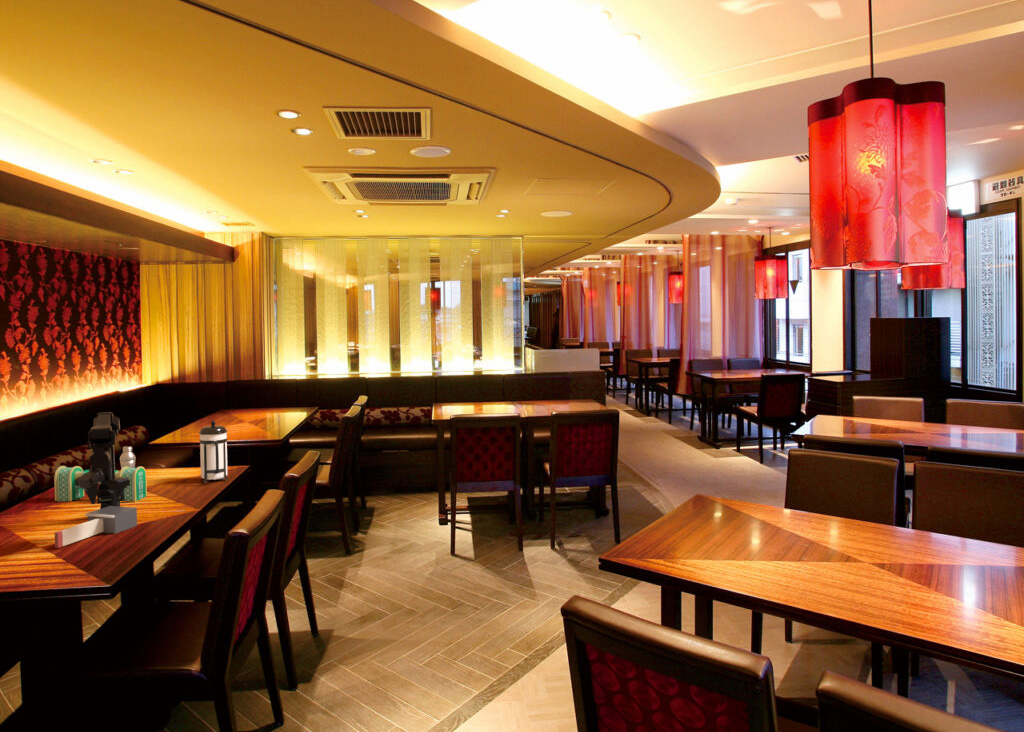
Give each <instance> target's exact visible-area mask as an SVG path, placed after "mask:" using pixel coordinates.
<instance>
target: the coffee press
mask: <svg viewBox="0 0 1024 732" xmlns="http://www.w3.org/2000/svg"><path fill="white" fill-rule="evenodd" d="M227 434H228V430H227V428H226V427H225V426H223V425H216V421H215V420H212V421H210V425H206V426H203V427H202V428H200V429H199V431H198V435H199V445H200V446H199V449H200V452H199V454H200V456H199V457H200V479H201V478H203V479H204V480H202V483H203V484H206V483H205V482H207V483H208V482H209V481H211V480H214V481H215V480H223V481H224V480H225V479H226V480H228V481H229V478H228V477H227V476H228V448H227V447H228V445H227V444H228V443H227V442H228V437H227Z"/></svg>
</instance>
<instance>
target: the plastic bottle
mask: <svg viewBox="0 0 1024 732" xmlns="http://www.w3.org/2000/svg"><path fill="white" fill-rule="evenodd" d="M119 463H120V467H121V469H122V468H123V467H126V466H128V467H130V468H136V455H135V454H134V452H133V447H132V446H131V445H127V446H123V447H122V453H121V455H120V457H119ZM121 469H120V470H121Z"/></svg>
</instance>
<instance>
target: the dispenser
mask: <svg viewBox="0 0 1024 732" xmlns="http://www.w3.org/2000/svg"><path fill="white" fill-rule="evenodd" d="M137 511H138V510H137V507H131V506H120V507H119V506H108V507H105V508H102V509H96V510H93V511H90V512H87V513H85V515H84V516H86V517H87V522H88V521H91V520H94V519H97V518H100V517H104V532H103V533H104V534H111V533H113V535H116V534H118V533H119V534H120V533H121V531H122V532H124V531H127V530H129V529H132V527H133V528H135V527H137V526H138V512H137ZM134 526H135V527H134Z"/></svg>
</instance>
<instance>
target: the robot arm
mask: <svg viewBox="0 0 1024 732" xmlns="http://www.w3.org/2000/svg"><path fill="white" fill-rule="evenodd" d="M120 423H121V422H120V418H119V417H118V416H116V415H114V414H113V412H111V411H108V412H106V411H105V412H99V413H97V415H96V417H94V418H93V426H92V427H91V428H90V430H89V431H88V432H87V450H91V452H92V453H91V455H90V457H89V459H88V463H89V465H90V466H89V468H88V470H89V472H87V473H85V474H84V475H82V476H81V477H77V479H76V480H75V484H76V486H78V487H79V488H82V489H83V490H84V493H86V495H87V497H88V498H87V499H88V500H89V501H90V505H95V504H96V502H97V504H100V507H99V508H100V509H102V508H105V507H108V506H119V507H121V502H120V501H122V500H125V496H124V489H125V488H127V486H129V485H130V480H129V479H128V478H122V477H119V478H117V477H116V476H115V470H116V462H115V445H116V438H117V436H118V434H119V431H121V424H120Z"/></svg>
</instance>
